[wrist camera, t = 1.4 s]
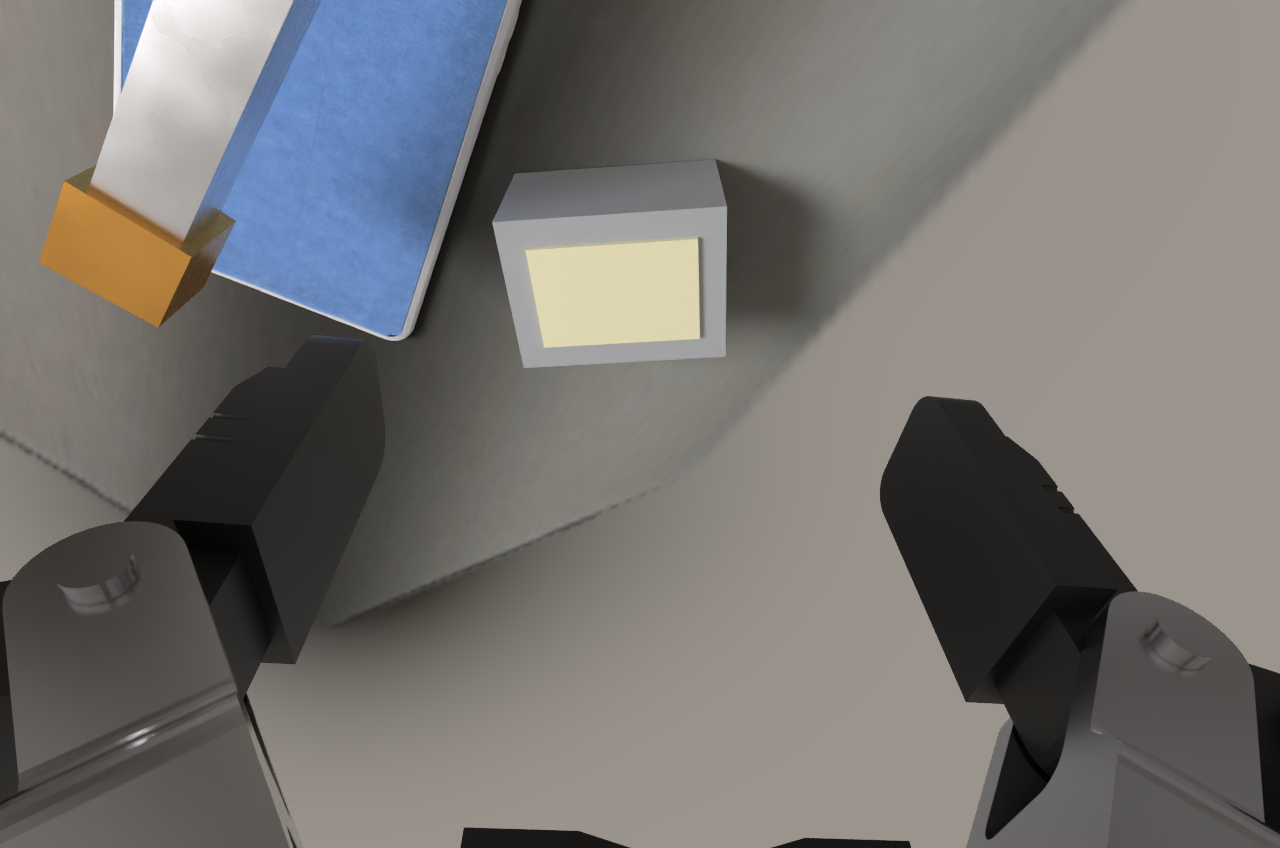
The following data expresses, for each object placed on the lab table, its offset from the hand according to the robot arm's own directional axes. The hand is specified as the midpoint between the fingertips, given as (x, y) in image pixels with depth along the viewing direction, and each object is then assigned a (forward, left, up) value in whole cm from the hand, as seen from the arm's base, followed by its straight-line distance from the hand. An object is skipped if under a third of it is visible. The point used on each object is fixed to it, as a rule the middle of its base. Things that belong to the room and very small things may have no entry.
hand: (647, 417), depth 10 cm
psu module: (+1, +5, -19) cm, 20 cm away
